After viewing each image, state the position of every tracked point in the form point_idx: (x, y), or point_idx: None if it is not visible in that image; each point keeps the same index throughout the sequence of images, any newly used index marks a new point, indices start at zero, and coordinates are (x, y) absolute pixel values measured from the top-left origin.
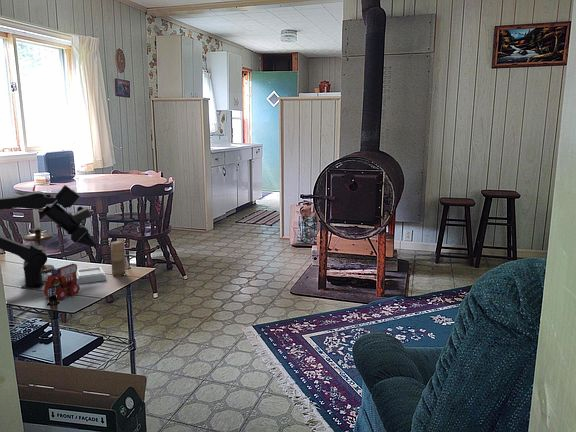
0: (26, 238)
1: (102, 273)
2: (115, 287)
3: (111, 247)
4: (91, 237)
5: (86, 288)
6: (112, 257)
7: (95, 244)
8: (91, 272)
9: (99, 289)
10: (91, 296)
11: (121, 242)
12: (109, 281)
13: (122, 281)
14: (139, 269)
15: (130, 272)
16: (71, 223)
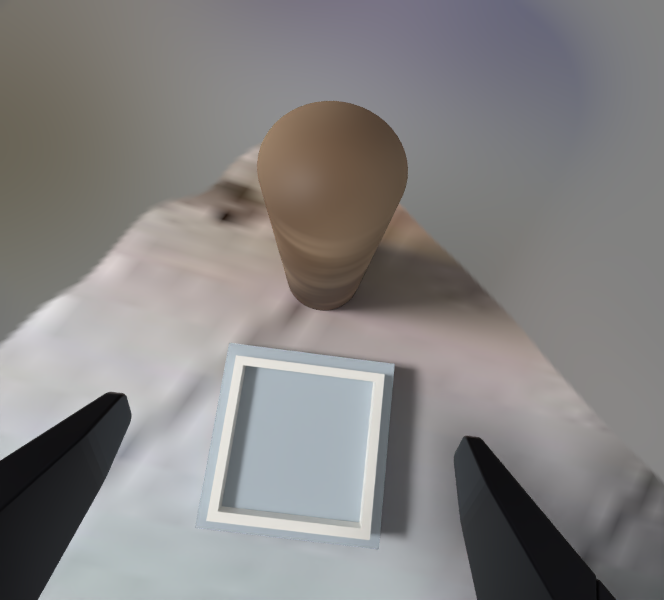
0: None
1: (383, 379)
2: (535, 354)
3: (345, 251)
4: (91, 438)
5: None
6: (346, 278)
7: (493, 466)
8: (292, 429)
9: (531, 438)
10: (626, 506)
11: (349, 128)
12: (420, 354)
13: (454, 294)
14: None
15: None
16: None
